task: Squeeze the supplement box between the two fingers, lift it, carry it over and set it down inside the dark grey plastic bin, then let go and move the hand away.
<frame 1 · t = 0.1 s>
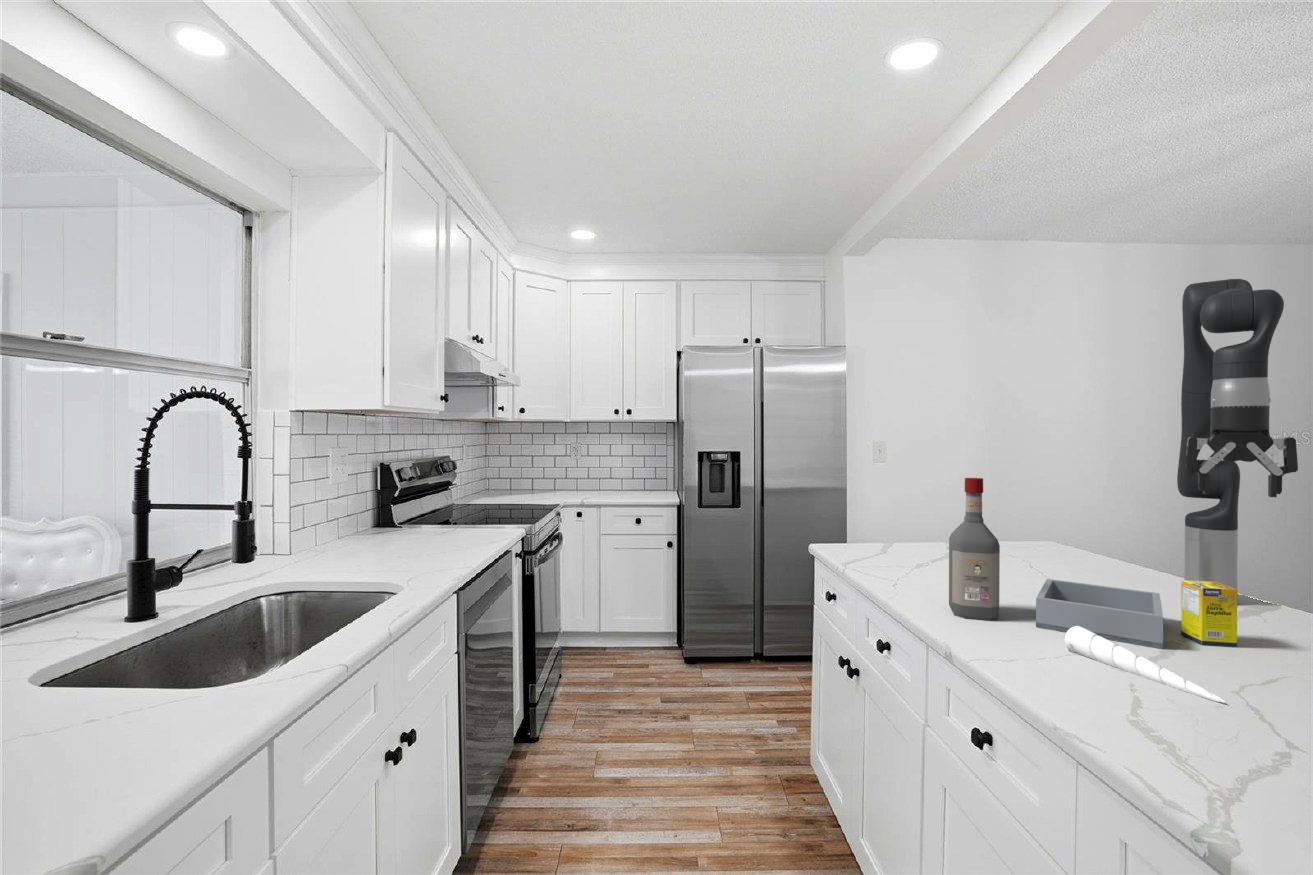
hand: (1238, 495, 107), 29 cm above the worktop, tool pointing down, fingers open, 8 cm apart
unicorn horn: (1135, 674, 101), on the worktop
supplement box: (1208, 642, 115), on the worktop
liquor: (973, 614, 132), on the worktop
bin: (1098, 624, 125), on the worktop
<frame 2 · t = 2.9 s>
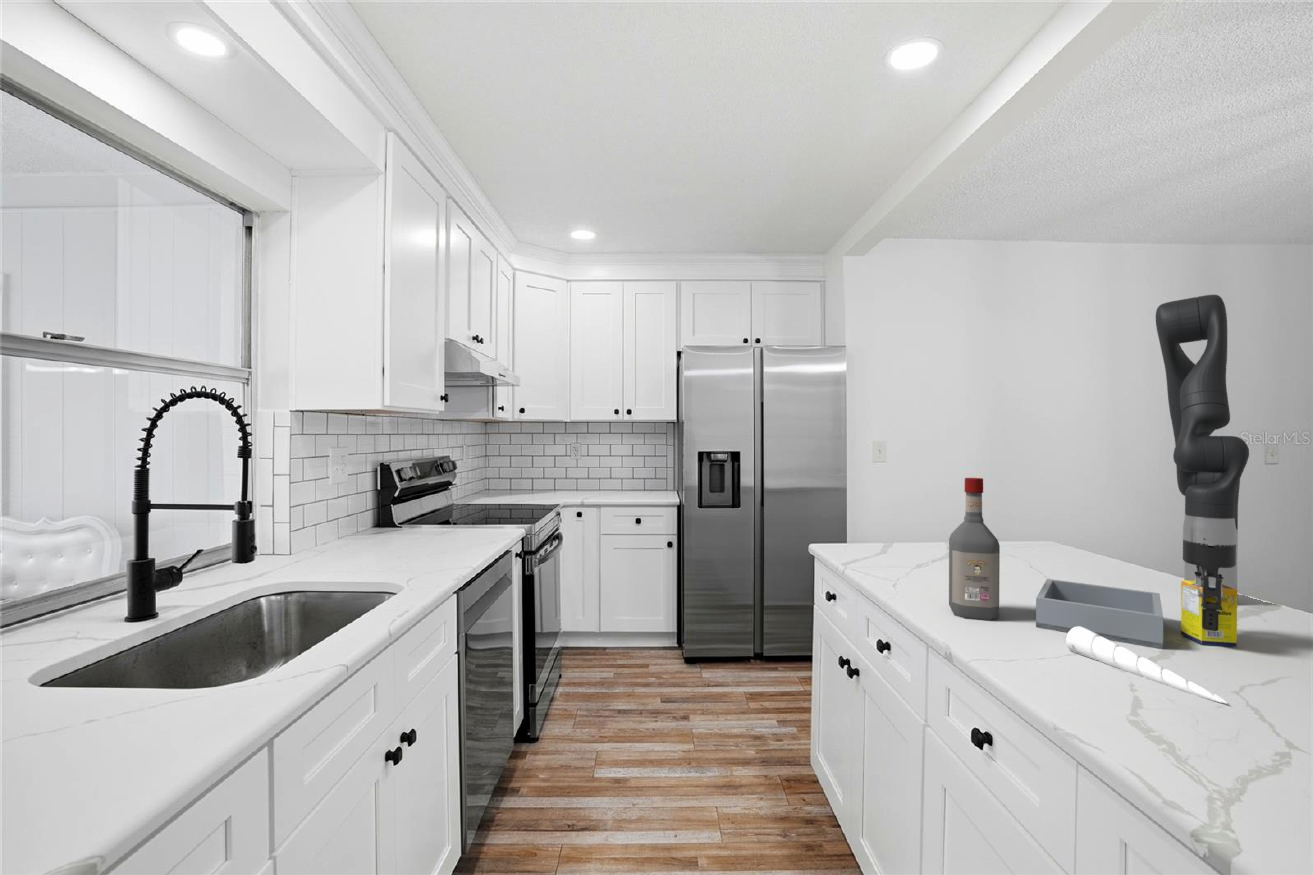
hand: (1207, 624, 115), 3 cm above the worktop, tool pointing down, fingers closed on supplement box, 8 cm apart
supplement box: (1208, 641, 115), on the worktop, touching gripper
everything else where it was.
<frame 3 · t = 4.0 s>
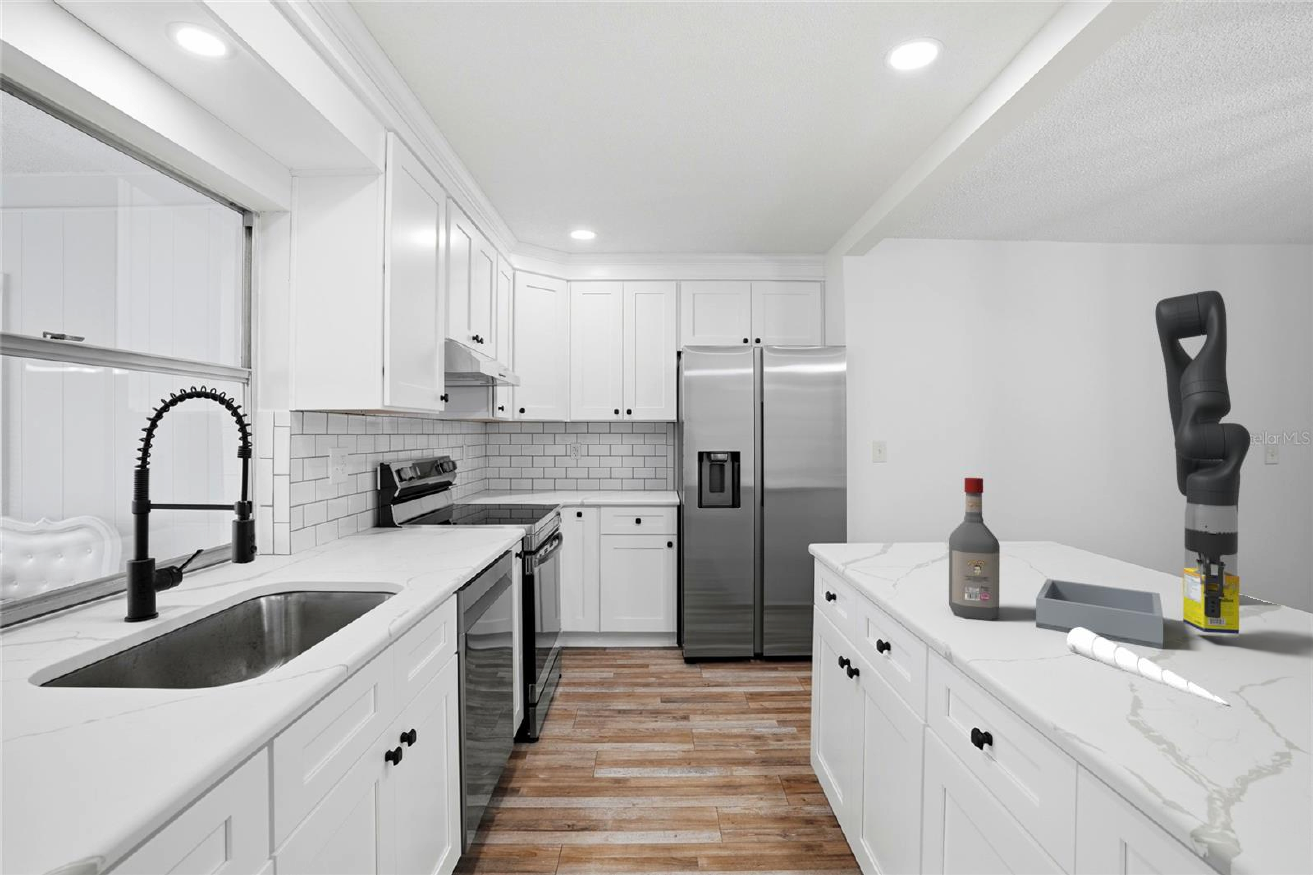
hand: (1210, 611, 115), 6 cm above the worktop, tool pointing down, fingers closed on supplement box, 8 cm apart
supplement box: (1210, 629, 115), point 2 cm above the worktop, touching gripper
everything else where it was.
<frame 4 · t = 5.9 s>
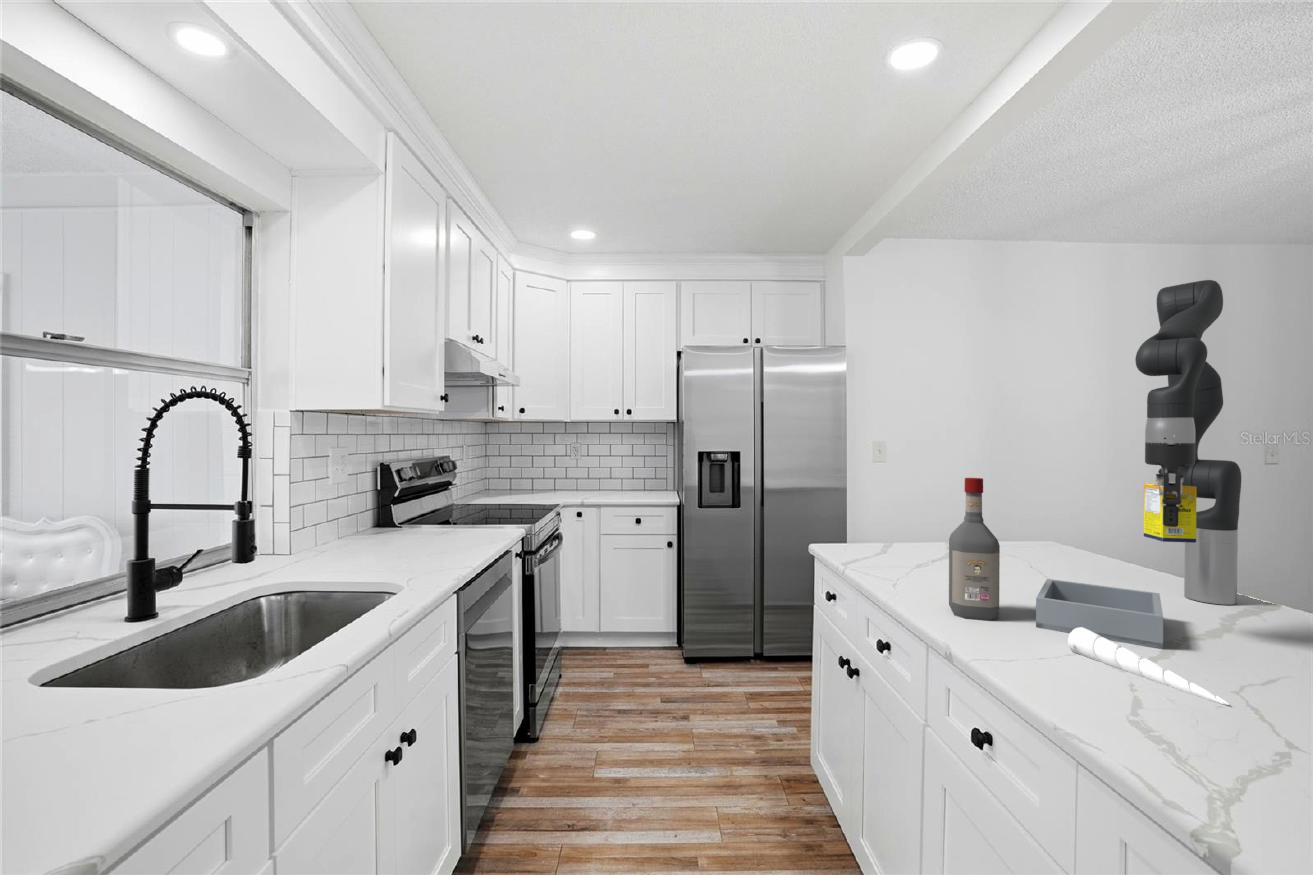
hand: (1168, 523, 118), 22 cm above the worktop, tool pointing down, fingers closed on supplement box, 8 cm apart
supplement box: (1169, 540, 118), point 19 cm above the worktop, touching gripper
everything else where it was.
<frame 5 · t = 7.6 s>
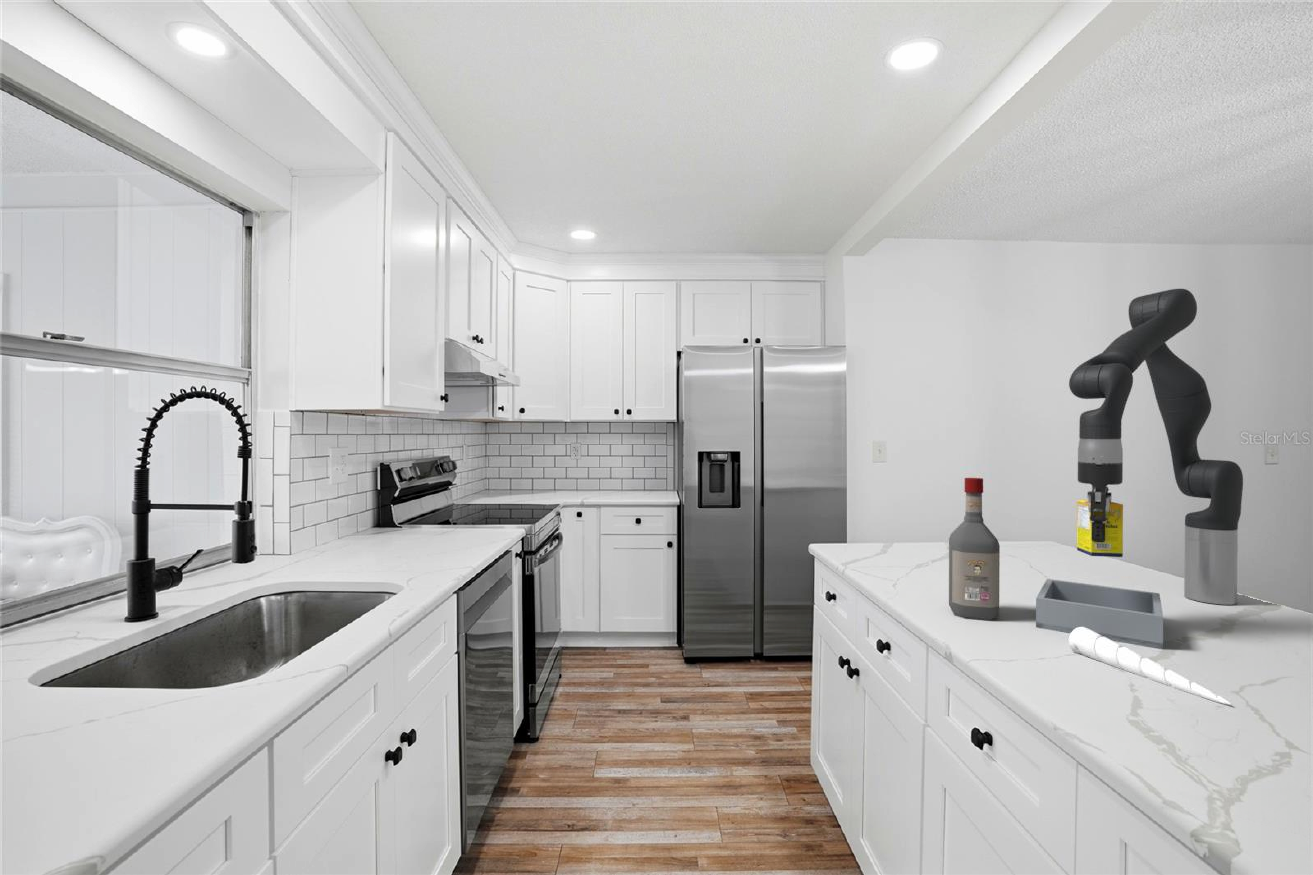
hand: (1099, 538, 125), 18 cm above the worktop, tool pointing down, fingers closed on supplement box, 8 cm apart
supplement box: (1099, 555, 125), point 14 cm above the worktop, touching gripper
everything else where it was.
when the fingers open (6 cm above the worktop, at t = 10.6 s): supplement box drops 2 cm, resting on bin.
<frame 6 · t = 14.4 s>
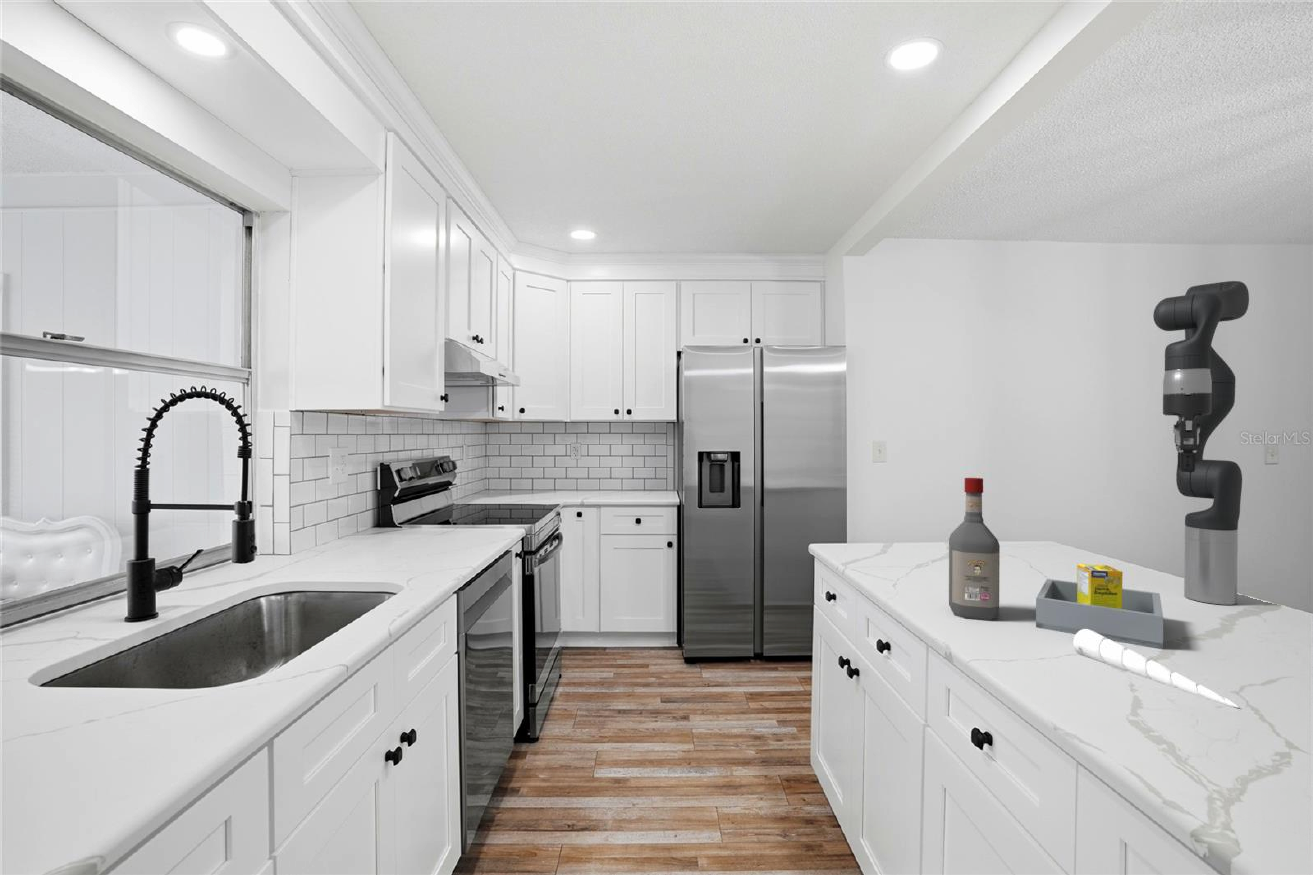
hand: (1185, 470, 124), 32 cm above the worktop, tool pointing down, fingers open, 8 cm apart
supplement box: (1099, 620, 125), point 1 cm above the worktop, touching bin
at the end: supplement box inside the target area on the bin (0.1 cm from its centre), point 0.8 cm above the bin's base; the gripper is holding nothing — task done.
